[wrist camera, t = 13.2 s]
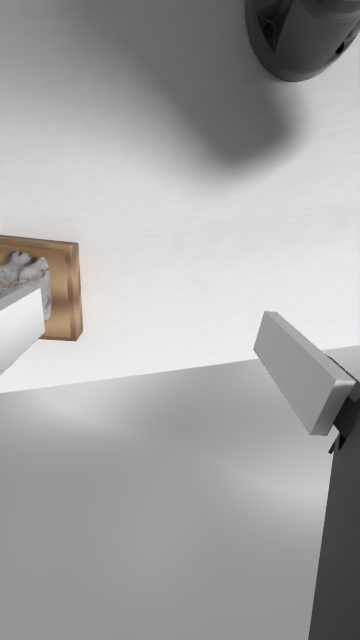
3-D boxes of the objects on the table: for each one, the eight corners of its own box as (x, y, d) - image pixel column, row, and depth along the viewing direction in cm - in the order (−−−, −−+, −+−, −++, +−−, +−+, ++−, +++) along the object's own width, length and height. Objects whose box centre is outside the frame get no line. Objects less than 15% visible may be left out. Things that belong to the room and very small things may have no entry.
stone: (8, 323, 38) (-21, 344, 32) (-1, 247, 34) (-37, 254, 27) (60, 328, 39) (42, 349, 33) (58, 256, 35) (37, 265, 29)
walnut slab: (-2, 234, 37) (-21, 236, 33) (78, 243, 38) (68, 245, 34) (14, 327, 43) (0, 337, 39) (82, 331, 44) (75, 342, 40)
